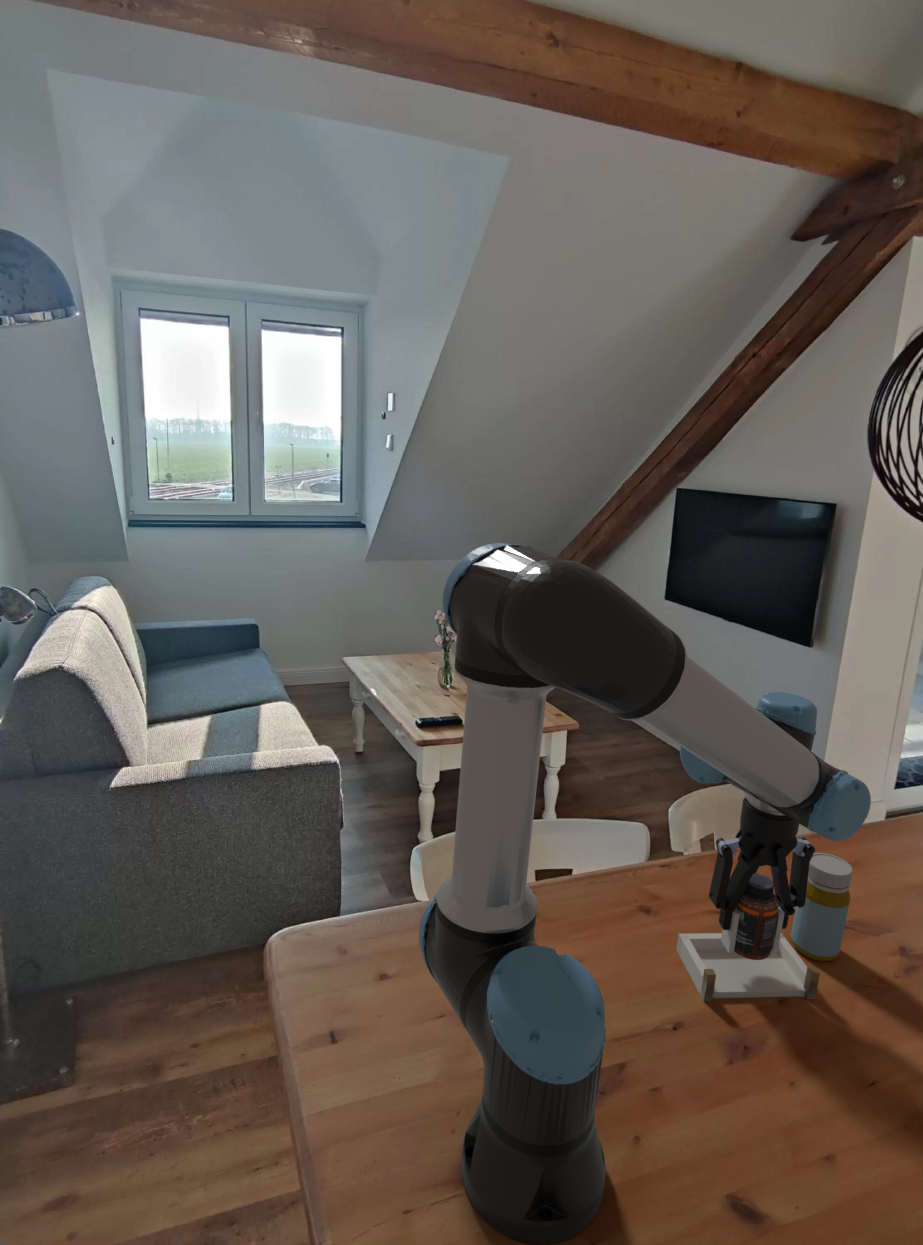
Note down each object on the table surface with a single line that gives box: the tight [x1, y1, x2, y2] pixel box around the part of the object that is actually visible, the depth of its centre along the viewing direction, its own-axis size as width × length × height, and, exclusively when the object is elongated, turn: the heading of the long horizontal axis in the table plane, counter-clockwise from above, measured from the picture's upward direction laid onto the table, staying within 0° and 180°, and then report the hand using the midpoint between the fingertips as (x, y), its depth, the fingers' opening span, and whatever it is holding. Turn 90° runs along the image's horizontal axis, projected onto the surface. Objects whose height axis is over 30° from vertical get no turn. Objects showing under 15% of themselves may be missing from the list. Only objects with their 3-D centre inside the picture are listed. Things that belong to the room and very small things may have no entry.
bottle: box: [790, 852, 853, 962], centre depth 114 cm, size 7×7×15 cm
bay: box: [676, 932, 821, 1003], centre depth 109 cm, size 11×16×4 cm, turn 95°
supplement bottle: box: [734, 872, 778, 960], centre depth 107 cm, size 6×6×11 cm
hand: (749, 946), depth 108 cm, fingers closed on supplement bottle, 6 cm apart
